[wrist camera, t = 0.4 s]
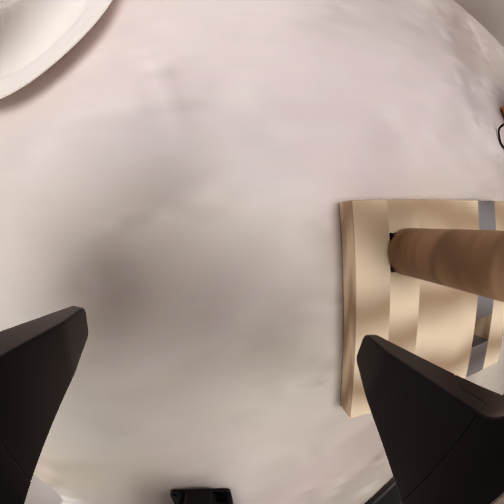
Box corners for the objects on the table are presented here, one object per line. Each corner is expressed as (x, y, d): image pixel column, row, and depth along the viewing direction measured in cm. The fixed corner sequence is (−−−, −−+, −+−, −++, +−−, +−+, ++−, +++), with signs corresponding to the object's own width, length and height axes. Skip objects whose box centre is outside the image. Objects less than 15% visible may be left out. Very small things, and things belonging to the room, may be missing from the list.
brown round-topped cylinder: (406, 268, 24) (535, 298, 10) (372, 272, 24) (502, 312, 10) (405, 226, 24) (538, 230, 10) (370, 228, 23) (506, 233, 9)
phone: (354, 517, 26) (431, 440, 26) (351, 511, 27) (427, 435, 27) (388, 518, 27) (458, 447, 27) (385, 513, 28) (453, 443, 28)
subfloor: (484, 355, 26) (497, 361, 24) (340, 404, 24) (350, 418, 22) (493, 202, 25) (508, 201, 22) (339, 203, 23) (352, 200, 20)
